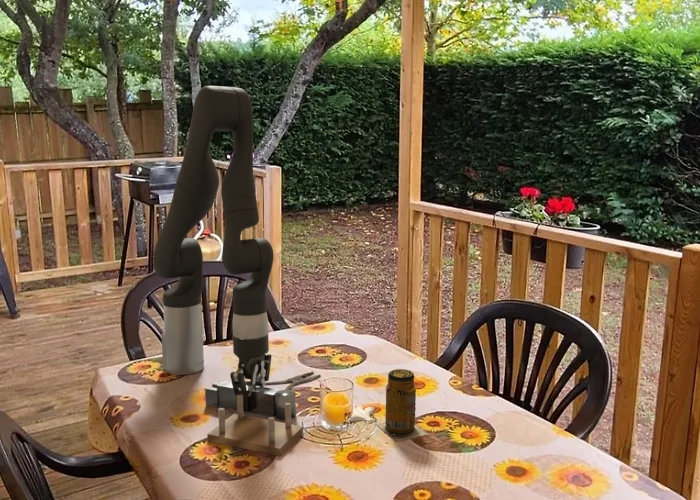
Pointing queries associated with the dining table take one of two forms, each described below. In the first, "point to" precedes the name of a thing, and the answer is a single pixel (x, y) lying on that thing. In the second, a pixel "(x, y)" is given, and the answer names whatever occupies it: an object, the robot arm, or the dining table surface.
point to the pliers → (295, 380)
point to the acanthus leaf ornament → (362, 414)
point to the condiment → (401, 406)
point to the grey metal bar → (262, 399)
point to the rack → (255, 431)
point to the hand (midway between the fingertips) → (253, 406)
